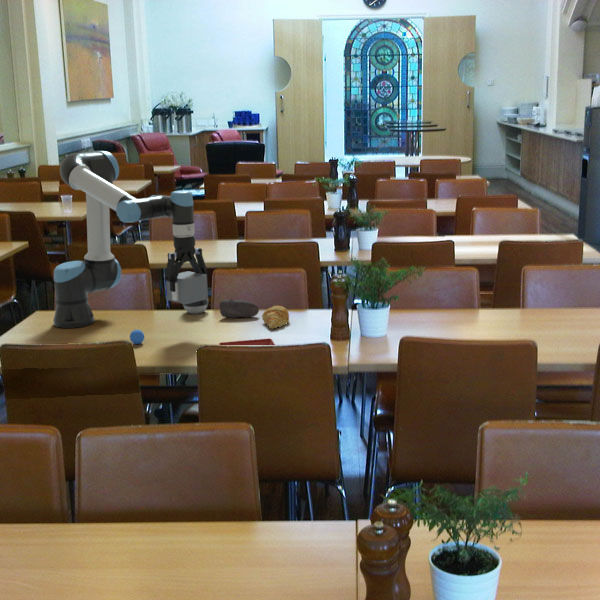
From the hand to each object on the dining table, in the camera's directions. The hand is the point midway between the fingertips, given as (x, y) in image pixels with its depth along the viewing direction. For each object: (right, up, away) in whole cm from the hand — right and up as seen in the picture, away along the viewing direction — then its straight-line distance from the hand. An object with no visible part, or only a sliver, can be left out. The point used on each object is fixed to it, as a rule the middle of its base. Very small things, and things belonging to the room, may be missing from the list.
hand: (187, 297), depth 309 cm
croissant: (+31, -10, +17) cm, 37 cm away
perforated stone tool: (+17, -8, +27) cm, 33 cm away
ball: (-17, -14, -5) cm, 23 cm away
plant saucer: (+23, -20, -23) cm, 38 cm away
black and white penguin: (-1, -6, +37) cm, 37 cm away
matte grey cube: (0, -1, 0) cm, 1 cm away
